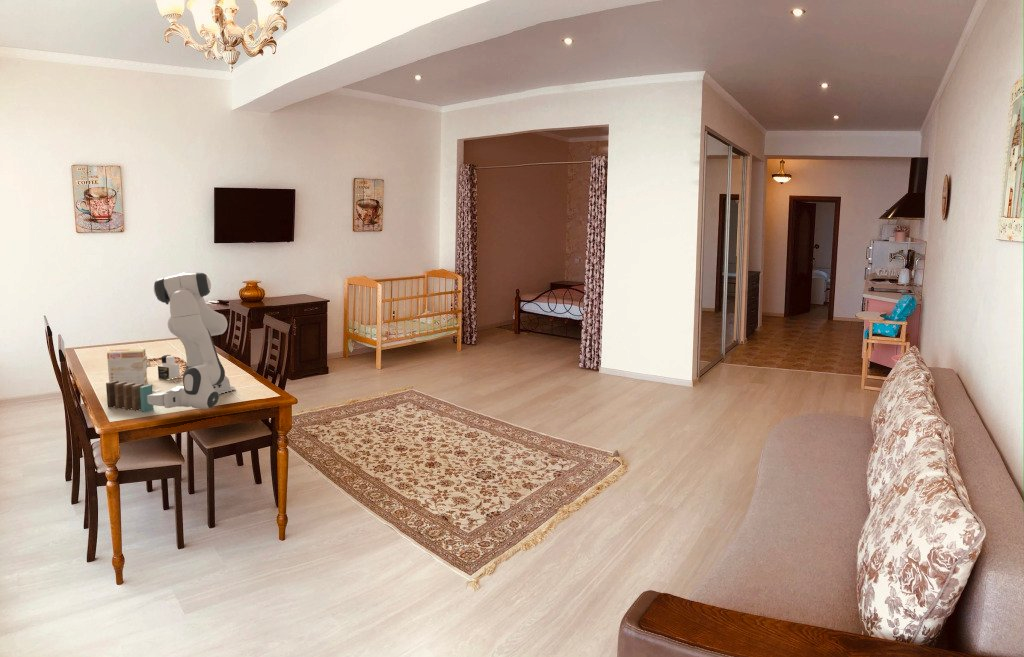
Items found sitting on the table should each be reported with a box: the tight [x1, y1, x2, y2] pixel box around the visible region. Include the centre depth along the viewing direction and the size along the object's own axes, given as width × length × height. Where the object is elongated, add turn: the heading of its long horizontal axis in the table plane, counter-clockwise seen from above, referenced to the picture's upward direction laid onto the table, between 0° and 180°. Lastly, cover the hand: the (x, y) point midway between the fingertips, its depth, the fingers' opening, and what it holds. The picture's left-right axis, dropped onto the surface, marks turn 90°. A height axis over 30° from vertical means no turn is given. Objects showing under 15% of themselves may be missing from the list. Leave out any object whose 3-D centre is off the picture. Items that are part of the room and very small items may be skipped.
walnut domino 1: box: [114, 382, 127, 409], centre depth 292 cm, size 2×5×11 cm, turn 164°
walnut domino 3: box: [131, 383, 144, 412], centre depth 290 cm, size 2×5×11 cm, turn 164°
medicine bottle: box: [157, 354, 181, 380], centre depth 344 cm, size 7×7×12 cm
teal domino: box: [140, 383, 155, 413], centre depth 289 cm, size 2×5×11 cm, turn 164°
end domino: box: [105, 381, 119, 408], centre depth 294 cm, size 2×5×11 cm, turn 164°
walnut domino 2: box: [123, 382, 135, 411], centre depth 291 cm, size 2×5×11 cm, turn 164°
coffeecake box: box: [106, 348, 149, 386], centre depth 319 cm, size 15×7×20 cm, turn 108°
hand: (155, 392), depth 287 cm, fingers closed
